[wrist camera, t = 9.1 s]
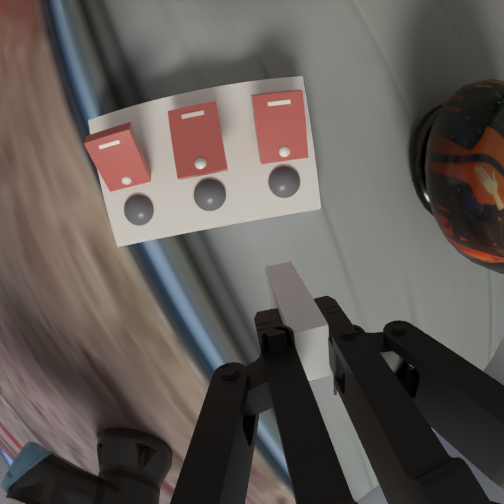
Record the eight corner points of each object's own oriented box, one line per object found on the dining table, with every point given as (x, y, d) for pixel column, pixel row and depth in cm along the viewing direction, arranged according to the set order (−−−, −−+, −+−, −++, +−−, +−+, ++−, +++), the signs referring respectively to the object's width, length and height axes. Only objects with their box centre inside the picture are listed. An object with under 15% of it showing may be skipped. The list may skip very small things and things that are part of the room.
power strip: (125, 238, 34) (117, 247, 31) (98, 121, 29) (87, 120, 26) (313, 203, 35) (321, 209, 32) (295, 80, 30) (303, 75, 27)
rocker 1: (113, 174, 30) (110, 192, 28) (90, 127, 24) (83, 144, 23) (152, 164, 30) (150, 182, 28) (132, 114, 24) (128, 129, 23)
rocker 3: (257, 156, 30) (261, 164, 28) (248, 93, 26) (252, 96, 24) (301, 149, 30) (308, 157, 28) (295, 88, 26) (303, 90, 24)
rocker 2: (182, 181, 28) (177, 178, 26) (173, 119, 28) (167, 110, 25) (228, 172, 29) (227, 168, 26) (217, 110, 28) (215, 100, 25)
